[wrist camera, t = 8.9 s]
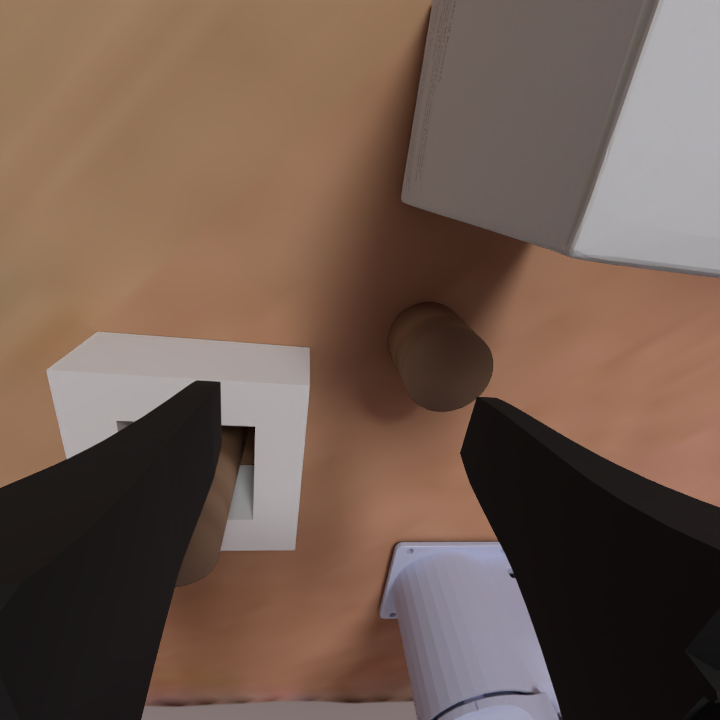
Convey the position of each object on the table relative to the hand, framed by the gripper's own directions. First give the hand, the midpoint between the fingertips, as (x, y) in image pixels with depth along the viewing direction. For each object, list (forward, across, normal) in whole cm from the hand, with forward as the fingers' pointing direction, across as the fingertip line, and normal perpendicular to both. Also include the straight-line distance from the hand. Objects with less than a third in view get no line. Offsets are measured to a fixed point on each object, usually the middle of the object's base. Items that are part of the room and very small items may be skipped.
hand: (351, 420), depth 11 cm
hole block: (+9, +6, +7) cm, 13 cm away
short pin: (+10, -5, +1) cm, 11 cm away
